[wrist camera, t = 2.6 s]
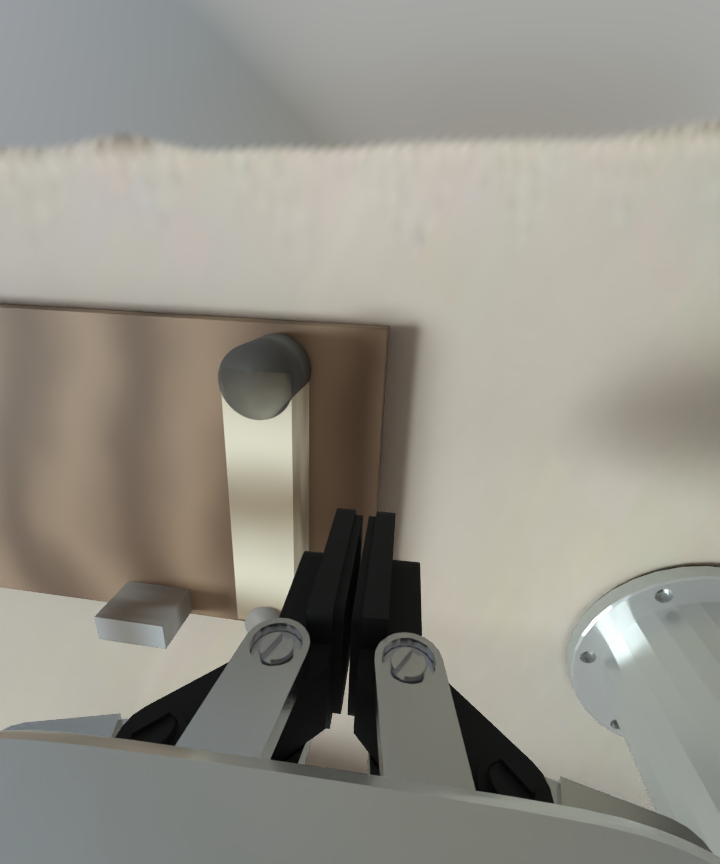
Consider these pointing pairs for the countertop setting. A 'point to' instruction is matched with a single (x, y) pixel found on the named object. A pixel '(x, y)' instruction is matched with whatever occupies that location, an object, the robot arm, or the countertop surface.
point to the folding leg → (266, 468)
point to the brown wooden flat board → (158, 455)
